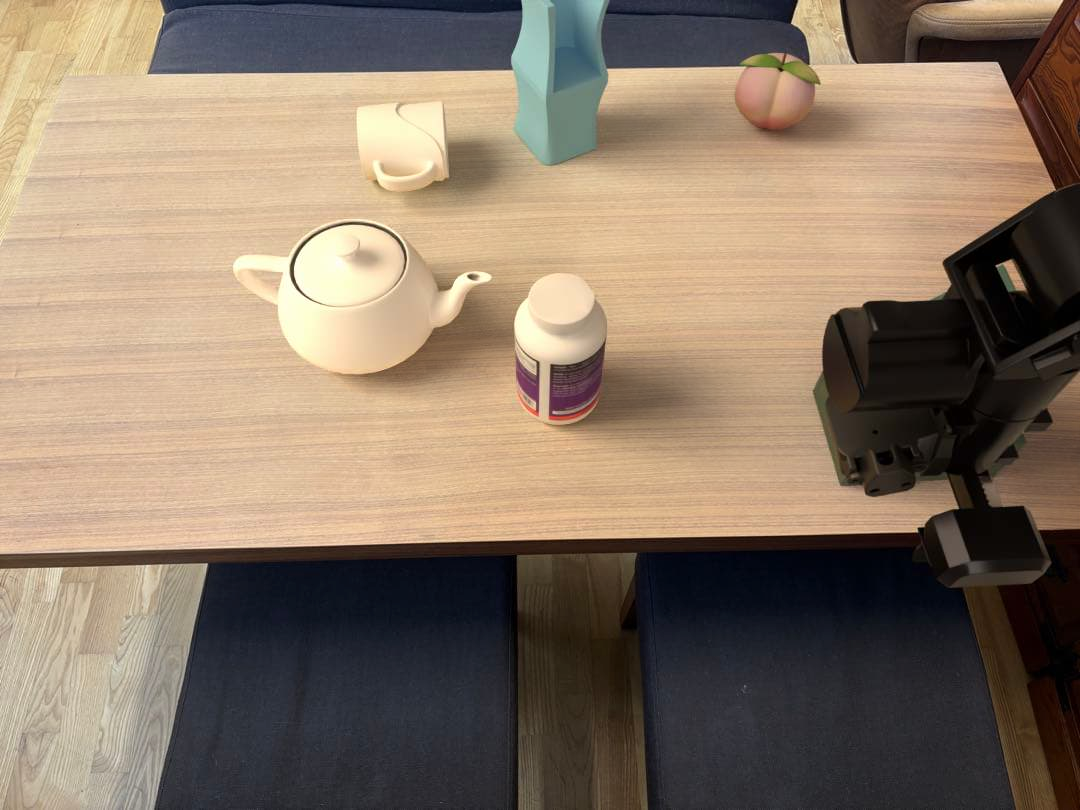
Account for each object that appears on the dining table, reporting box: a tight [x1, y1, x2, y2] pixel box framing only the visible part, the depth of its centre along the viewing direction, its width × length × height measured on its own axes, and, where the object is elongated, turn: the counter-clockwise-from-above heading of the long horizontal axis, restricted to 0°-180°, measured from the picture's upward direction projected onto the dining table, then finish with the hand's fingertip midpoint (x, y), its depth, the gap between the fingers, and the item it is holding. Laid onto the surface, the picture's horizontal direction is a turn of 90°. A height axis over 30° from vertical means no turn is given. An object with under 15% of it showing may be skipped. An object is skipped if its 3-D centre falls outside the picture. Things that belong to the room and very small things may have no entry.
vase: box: [510, 0, 611, 166], centre depth 94 cm, size 8×8×20 cm
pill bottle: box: [513, 272, 608, 426], centre depth 76 cm, size 8×8×14 cm
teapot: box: [232, 218, 493, 375], centre depth 81 cm, size 25×16×12 cm, turn 82°
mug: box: [356, 100, 450, 193], centre depth 95 cm, size 12×9×8 cm
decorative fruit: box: [734, 52, 822, 131], centre depth 100 cm, size 9×8×10 cm
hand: (900, 500), depth 62 cm, fingers open, 9 cm apart
